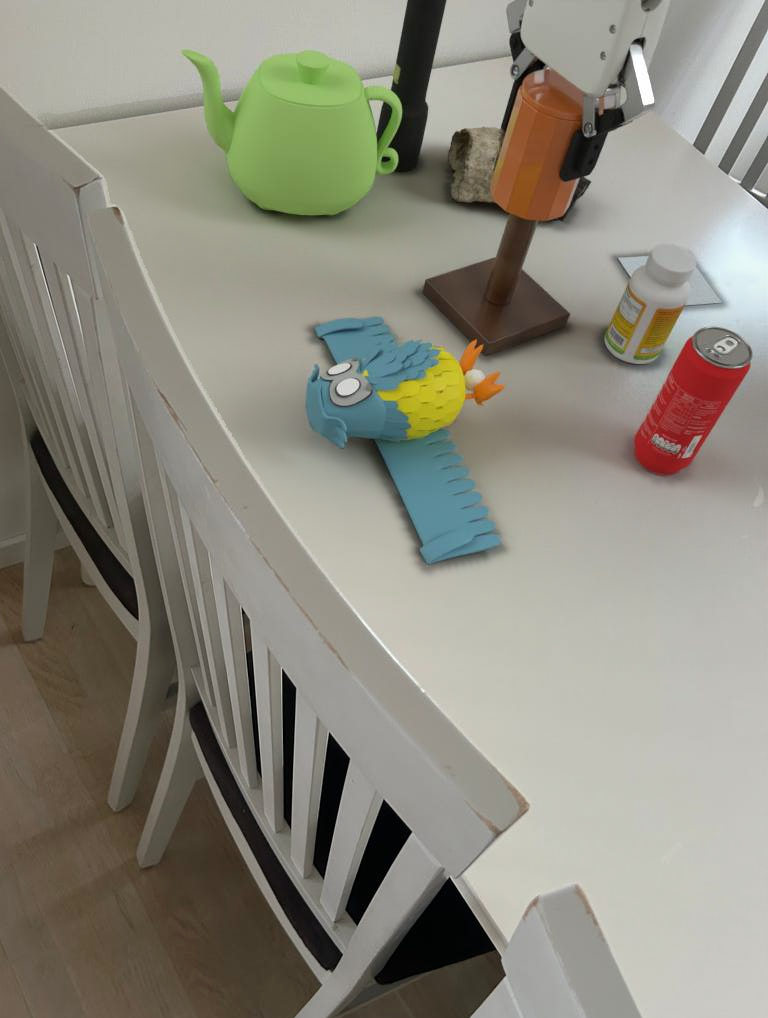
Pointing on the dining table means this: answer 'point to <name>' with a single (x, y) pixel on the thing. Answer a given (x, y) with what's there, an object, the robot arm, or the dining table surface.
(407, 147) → the flashlight
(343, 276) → the dining table surface
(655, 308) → the supplement bottle
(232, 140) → the teapot
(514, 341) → the cup stand
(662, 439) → the beverage can
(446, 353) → the owl figurine
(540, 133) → the cup
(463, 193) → the mineral specimen
